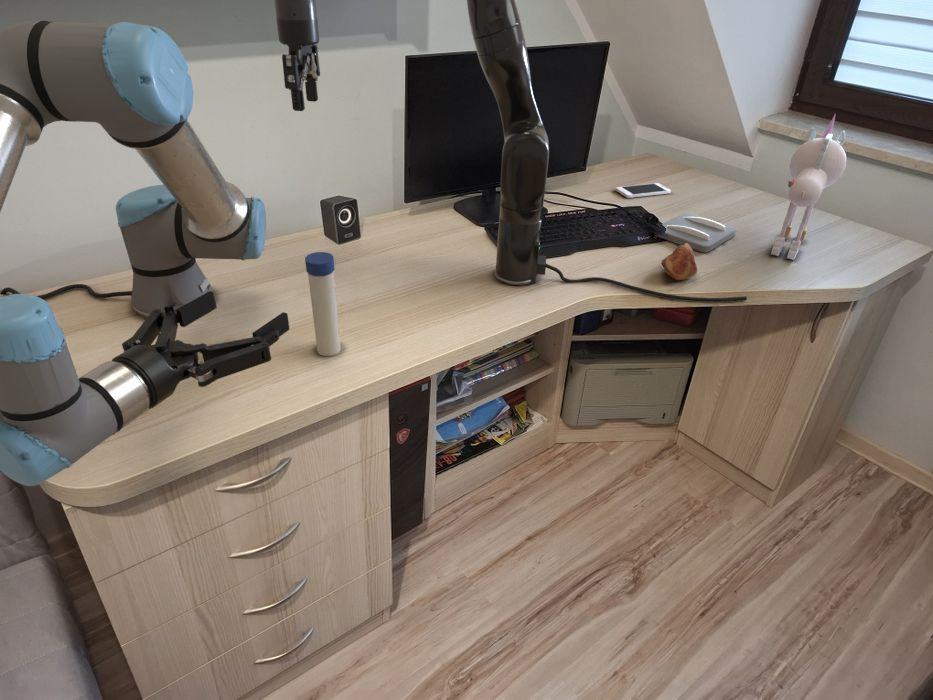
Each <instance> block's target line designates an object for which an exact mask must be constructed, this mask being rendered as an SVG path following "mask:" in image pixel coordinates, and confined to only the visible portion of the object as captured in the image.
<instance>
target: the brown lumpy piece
mask: <svg viewBox="0 0 933 700" xmlns="http://www.w3.org/2000/svg"><path fill="white" fill-rule="evenodd" d="M693 250H694V249H692V248H691V246H690V245H689V244H688V243H685V244H684V245H680V244H679V245H678V246H677V247H675V249H674V250H673V251H672V253H671V254H669V255H668V256H666V257H665V258H664V259H662V260H661V262H660V265H661V266H662V268H663V270H664V272H665V273H666V274H667V275H668V276H670V277H671V278H672V279H674V280H676V281H684V280H688V279H689V278H692V277H693V276H694V275H696V274H698V267H697V264H696V260H695V254H694V251H693Z"/></svg>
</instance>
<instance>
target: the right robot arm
mask: <svg viewBox="0 0 933 700" xmlns="http://www.w3.org/2000/svg"><path fill="white" fill-rule="evenodd" d="M466 5H467V13H468V19H469V20H468V21H469V25H470V30H471V35H472V39H473V44H474V46H475V50H476V55H477V57H478V61H479V65H480V67H481V69H482V72H483V74H484V76H485V78H486V81H487V84H488V85H489V87H490V89H491V91H492V93H493V96H494V97H495V100H496V104H497V106H498V111H499V115H500V119H501V124H502V125H501V126H502V131H503V132H502V133H503V139H504V140H503V141H504V142H503V147H502V153H501V169H500V187H499V192H500V194H499V195H500V196H499V197H500V198H499V211H498V228H497V244H496V260H495V270H494V277H495V278H496V280H498V281H499V282H502V283H503V284H508V285H510V286H525V285H530V284H537V275H541V276H545V275H546V269H548V270H551V271H553V272H555V273H557V274H558V276H559V278H560V279H561V281H563V282H565V283H569V284H575V283H577V284H578V283H587V282H604V283H607V284H612V285H615V286H619V287H622V288H624V289H625V288H626V289H628V290H632V291H637V292H641V293H644V294H649V295H652V296H656V297H661V298H667V299H672V300H679V301H690V302H708V303H709V302H710V303H711V302H736V301H737V302H739V301H747V300H748V297H747V295H746V296H731V297H698V296H697V297H695V296H683V295H678V294H677V295H676V294H670V293H664V292H659V291H655V290H650V289H647V288H642V287H639V286H635V285H630V284H627V283H625V282H621V281H617V280H615V279H610V278H605V277H598V276H596V277H595V276H594V277H593V276H592V277H591V276H590V277H585V278H580V279H570V278H567V277H565V276H564V274H563V271H561V270H560V269H559V268H557V267H556V266H553V265H550V264H548V263H547V255H540V249H541V247H540V246H541V244H540V243H541V231H542V222H543V221H542V220H543V213H544V212H543V211H544V201H545V194H546V189H547V188H546V187H547V180H548V179H547V178H548V168H549V160H550V159H549V158H550V141H549V137H548V134H547V131H546V129H545V126H544V123H543V121H542V118H541V115H540V112H539V108H538V107H537V106H538V105H537V103H536V100H535V96H534V91H533V86H532V85H533V84H532V77H531V68H530V61H529V55H528V49H527V45H526V44H527V43H526V39H525V34H524V31H523V30H524V29H523V25H522V22H521V18H520V14H519V11H518V7H517V4H516V0H466ZM274 10H275V17H276V27H277V35H278V36H277V37H278V42H279V43H280V44H282V45H286V46H287V47H288V54H287V53H285V54H284V53H282V55H281V59H282V60H281V61H282V71H283V81H284V87H285V89H286V90H289V91H290V96H291V105H292V110H293V111H295V112H303V111H304V110H305V109H306V107H305V97H304V88H305V96H306V101H307V102H314V103H315V102H317V101H318V100H319V95H318V94H319V93H318V85H317V84H318V83H317V82H318V80H319V77H320V76H321V71H320V68H321V67H320V60H319V59H320V58H319V50H318V48H319V47H318V45H317V44H319V42H320V34H319V33H320V32H319V24H318V23H319V22H318V11H317V1H316V0H274ZM304 84H305V85H304ZM304 86H305V87H304Z"/></svg>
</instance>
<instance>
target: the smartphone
mask: <svg viewBox="0 0 933 700" xmlns="http://www.w3.org/2000/svg"><path fill="white" fill-rule="evenodd" d="M615 192H617V193H619V194H620V195H622V196H624V197H625V198H628V199H630V198H639V197H640V198H641V197H649V196H656V195H657V196H659V195H665V194H671V192H672V190H671V189H670V188H668V187H666V186H664V185H663V184H661V183H658V182H654V183H645V184H644V183H643V184H636V185H634V184H633V185H626V186H617V187H615Z"/></svg>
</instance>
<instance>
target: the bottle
mask: <svg viewBox="0 0 933 700" xmlns="http://www.w3.org/2000/svg"><path fill="white" fill-rule="evenodd" d="M334 271H335V270H334ZM334 271H333V272H332V273H330V274H328V275H324V276H314V275H310V274H308V273H307V278H308V285H309V292H310V293H309V294H310V302H311V309H312V310H311V311H312V319H313V328H314V335H315V344H316V352H317V353H318V355H321V356H324V357H333V356H336V355H337V354H339V353H340V352H341V351H342V347H341V335H340V326H339V315H338V305H337V294H336V293H337V292H336V284H335V281H336V280H335V272H334Z"/></svg>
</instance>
